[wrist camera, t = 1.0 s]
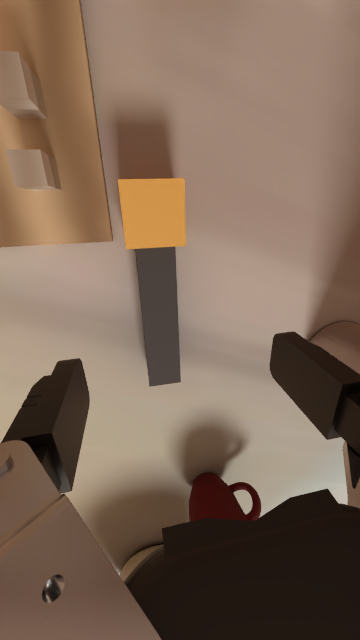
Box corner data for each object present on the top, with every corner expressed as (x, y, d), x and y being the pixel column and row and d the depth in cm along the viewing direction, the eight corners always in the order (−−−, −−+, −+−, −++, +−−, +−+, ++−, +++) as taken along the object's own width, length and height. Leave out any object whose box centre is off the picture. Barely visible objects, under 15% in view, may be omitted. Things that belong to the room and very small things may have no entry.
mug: (226, 445, 36) (258, 523, 27) (252, 470, 39) (288, 546, 30) (169, 483, 37) (181, 571, 28) (199, 504, 40) (218, 588, 31)
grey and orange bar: (120, 185, 21) (117, 179, 17) (174, 184, 22) (184, 178, 17) (141, 367, 28) (143, 394, 24) (180, 362, 29) (189, 387, 25)
